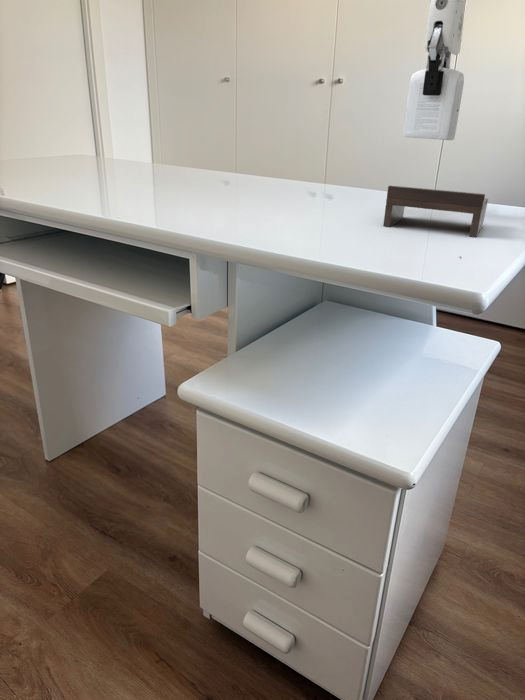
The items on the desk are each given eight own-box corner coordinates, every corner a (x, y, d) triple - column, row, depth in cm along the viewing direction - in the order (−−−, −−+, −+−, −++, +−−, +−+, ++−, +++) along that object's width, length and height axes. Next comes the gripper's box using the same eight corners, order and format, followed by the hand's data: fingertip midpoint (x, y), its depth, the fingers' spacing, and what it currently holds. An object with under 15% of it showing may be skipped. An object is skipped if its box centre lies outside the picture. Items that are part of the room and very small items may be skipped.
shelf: (397, 216, 106) (402, 179, 103) (482, 226, 100) (490, 187, 97) (383, 226, 97) (388, 186, 94) (476, 237, 91) (484, 194, 88)
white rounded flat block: (458, 140, 103) (469, 67, 98) (449, 140, 100) (461, 66, 95) (408, 137, 109) (417, 69, 104) (399, 137, 106) (407, 67, 101)
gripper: (465, -32, 85) (446, 94, 93) (478, -12, 99) (461, 97, 107) (417, -28, 89) (403, 94, 96) (437, -9, 102) (423, 96, 110)
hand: (434, 94), depth 101 cm, fingers closed on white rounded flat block, 5 cm apart
